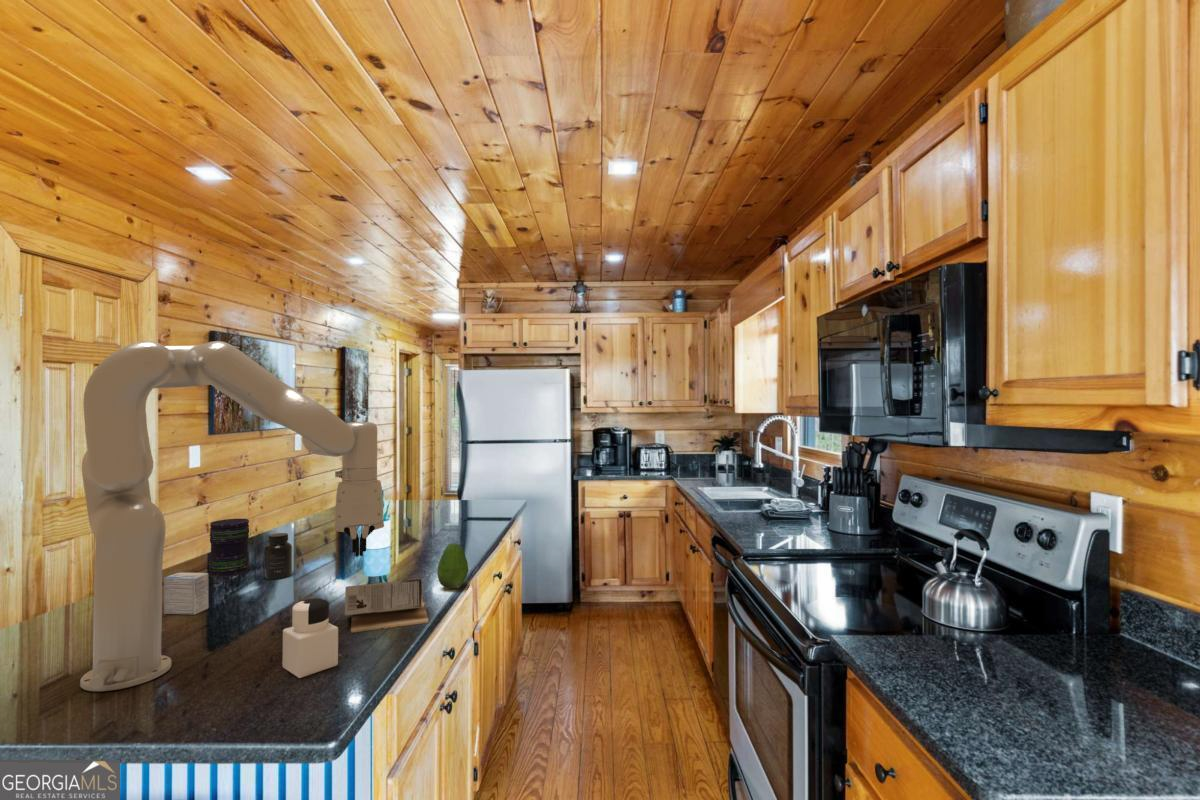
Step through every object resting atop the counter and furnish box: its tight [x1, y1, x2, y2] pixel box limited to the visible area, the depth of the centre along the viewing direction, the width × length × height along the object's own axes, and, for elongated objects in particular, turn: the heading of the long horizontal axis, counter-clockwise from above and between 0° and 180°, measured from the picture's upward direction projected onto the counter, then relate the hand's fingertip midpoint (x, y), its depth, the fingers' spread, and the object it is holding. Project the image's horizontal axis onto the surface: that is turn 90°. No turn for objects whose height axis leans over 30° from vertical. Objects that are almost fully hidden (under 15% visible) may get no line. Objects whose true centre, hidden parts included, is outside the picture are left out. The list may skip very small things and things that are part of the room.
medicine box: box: [163, 572, 209, 616], centre depth 137 cm, size 8×4×9 cm, turn 84°
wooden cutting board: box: [350, 597, 429, 633], centre depth 136 cm, size 20×16×1 cm
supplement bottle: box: [264, 532, 293, 580], centre depth 166 cm, size 7×7×12 cm
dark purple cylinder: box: [208, 518, 250, 578], centre depth 170 cm, size 10×10×15 cm
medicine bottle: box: [282, 597, 339, 679], centre depth 107 cm, size 7×7×12 cm
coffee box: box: [344, 578, 423, 617], centre depth 133 cm, size 9×6×16 cm
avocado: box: [436, 542, 469, 590], centre depth 155 cm, size 8×8×12 cm
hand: (359, 554), depth 134 cm, fingers closed
